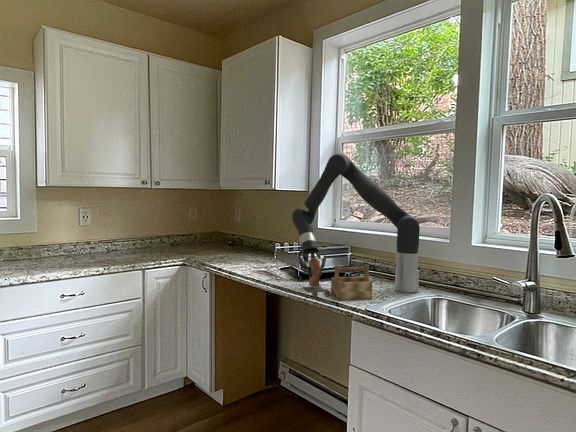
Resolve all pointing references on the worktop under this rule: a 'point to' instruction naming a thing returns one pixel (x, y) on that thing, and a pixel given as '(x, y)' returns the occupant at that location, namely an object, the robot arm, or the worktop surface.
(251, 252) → the worktop surface
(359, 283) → the toolbox
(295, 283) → the worktop surface
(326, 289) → the keeper
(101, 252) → the worktop surface
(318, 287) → the pad
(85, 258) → the worktop surface
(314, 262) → the reddish brown cylinder
